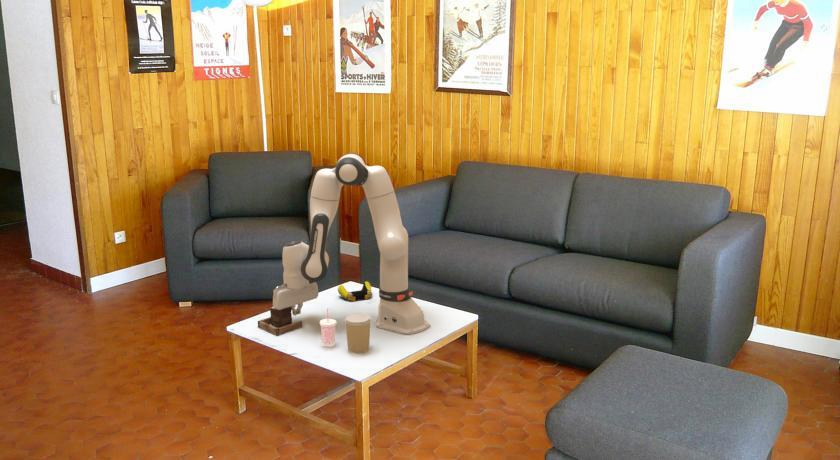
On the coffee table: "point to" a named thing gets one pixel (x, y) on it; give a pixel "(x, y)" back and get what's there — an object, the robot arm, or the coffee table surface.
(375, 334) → the coffee table surface
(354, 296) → the gaming controller
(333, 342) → the beverage cup
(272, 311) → the box
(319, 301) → the coffee table surface
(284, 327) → the frame
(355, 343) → the coffee cup
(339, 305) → the coffee table surface
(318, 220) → the robot arm
